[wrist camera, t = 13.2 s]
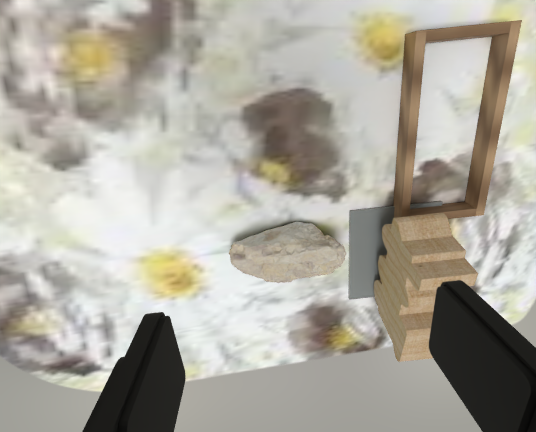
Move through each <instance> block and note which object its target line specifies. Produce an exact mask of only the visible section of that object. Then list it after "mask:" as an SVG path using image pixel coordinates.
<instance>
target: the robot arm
mask: <svg viewBox="0 0 536 432" xmlns="http://www.w3.org/2000/svg"><path fill="white" fill-rule="evenodd" d="M429 350H430V353H431V355H432V357H433V358H434V360H435V361H436V363H437V364H438V366H439V367H440V369H441V370H442V372H443V373H444V375H445V376H446V378H447V379H448V381H449V382H450V384H451V385H452V387H453V388H454V390H455V391H456V393H457V394H458V396H459V397H460V399H461V400H462V401H463V403H464V404H465V406H466V408H467V409H468V411H469V412H470V413H471V415H472V416H473V418H474V420H475V421H476V422H477V424H478V425H479V427H480V428H481V430H482V431H483V432H536V348H535V347H534V346H533V345H532V344H531V343H530V342H529V341H528V340H527V339H526V338H524V337H523V336H522V335H521V334H520V333H519V332H518V331H517V330H516V329H515V328H514V327H513V326H511V325H510V324H509V323H508V322H507V321H506V320H505V319H504V318H503V317H502V316H501V315H499V314H498V313H497V312H496V311H495V310H494V309H493V308H492V307H491V306H490V305H489V304H488V303H486V302H485V301H484V300H483V299H482V298H481V297H480V296H479V295H478V294H477V293H476V292H474V291H473V290H472V289H471V288H470V287H469V286H468V285H467V284H466V283H465V282H463V281H462V280H456V281H446V282H442V284H441V286H440V287H438V288H437V290H436V297H435V304H434V311H433V317H432V324H431V331H430V338H429ZM184 384H185V370H184V366H183V362H182V359H181V355H180V352H179V348H178V344H177V341H176V337H175V334H174V330H173V326H172V323H171V319H170V317H169V316H165V315H164V313H163V312H159V313H150V314H145V315H144V317H143V319H142V321H141V323H140V325H139V327H138V330H137V332H136V334H135V336H134V338H133V340H132V342H131V344H130V347H129V349H128V351H127V353H126V355H125V357H121V358H120V359H119V360H118V361H117V363H116V365H115V367H114V369H113V371H112V373H111V375H110V377H109V379H108V381H107V383H106V385H105V387H104V389H103V391H102V393H101V395H100V397H99V399H98V401H97V403H96V405H95V407H94V409H93V411H92V413H91V416H90V418H89V419H88V421H87V423H86V426H85V428H84V430H83V432H174V428H175V424H176V419H177V415H178V411H179V406H180V402H181V397H182V393H183V388H184Z"/></svg>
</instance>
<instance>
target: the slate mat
mask: <svg viewBox="0 0 536 432" xmlns="http://www.w3.org/2000/svg"><path fill="white" fill-rule="evenodd" d="M433 206H442V201H435V202H426V203H416V204H410V209H414V208H424V207H433ZM394 208H395V207H394V206H388V207H378V208H369V209H360V210H350V218H349V299H358V298H367V297H375V296H374V282H375V281H376V280H381V278H380V275H379V270H378V260H379V256H381V255H387V249H386V247H385V245H384V242H383V239H382V227H383V226H384V225H385V224H392V221H393V218H394Z"/></svg>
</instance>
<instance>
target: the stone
mask: <svg viewBox="0 0 536 432" xmlns="http://www.w3.org/2000/svg"><path fill="white" fill-rule="evenodd" d="M229 254H230V258H231V263H232V264H233V266H235V267H236V268H237V269H239V270H240V271H242V272H243V273H245V274H249V275H252V276H255V277H258V278H262V279H264V280H265V281H267V282H277V283H280V282H291V281H292V280H295V279H298V278H304V277H312V276H317V275H318V276H320V275H326V274H330V273H333V272H334V269H336V268H338V266H339V267H340V266H341V264H342V263H343V261H344V260H345V255H346V252H345V249H344V247H343V245H341V244H340V243H338V242H337V241H336V240H335V239H334V238H333V237H330V235H326V236H325V235H323V233H322V232H321V230H320V229H319V228H317V227H316V226H315V225H313V224H312V223H303V222H293V223H292V224H288V225H285V226H281V227H277V228H274V229H269V230H266V231H263V232H261V233H259V234H256V235H253V236H249V237H247V238H246V239H243V240H241V241H237V242H234V243H233V245H232V246H231V249H230V252H229Z"/></svg>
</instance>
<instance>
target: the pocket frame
mask: <svg viewBox="0 0 536 432" xmlns="http://www.w3.org/2000/svg"><path fill="white" fill-rule="evenodd" d="M521 22H522V20H518V21H509V22H499V23H489V24H479V25H469V26H459V27H450V28H440V29H430V30H420V31H415V32H412V33H409V34H406V35H405V46H404V60H403V75H402V89H401V103H400V117H399V132H398V146H397V160H396V174H395V189H394V203H393V206H394V207H395V208H394V218H397V217H407V216H416V215H426V214H436V213H444V214H445V215H446V216H447V218H448V219H451V218H461V217H470V216H479V215H484V210H485V205H486V200H487V195H488V190H489V185H490V180H491V174H492V169H493V164H494V159H495V154H496V149H497V144H498V139H499V134H500V129H501V124H502V118H503V113H504V108H505V103H506V98H507V93H508V88H509V83H510V78H511V73H512V68H513V62H514V57H515V52H516V47H517V42H518V37H519V32H520V27H521ZM482 37H492V41H491V47H490V53H489V59H488V65H487V71H486V77H485V83H484V89H483V95H482V101H481V107H480V113H479V119H478V125H477V131H476V137H475V143H474V149H473V155H472V161H471V167H470V173H469V179H468V185H467V191H466V197H465V202H459V203H449V204H442V206H433V207H424V208H414V209H410V202H411V191H412V181H413V170H414V159H415V148H416V138H417V127H418V116H419V106H420V95H421V84H422V73H423V63H424V52H425V43H433V42H443V41H453V40H462V39H472V38H482Z"/></svg>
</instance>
